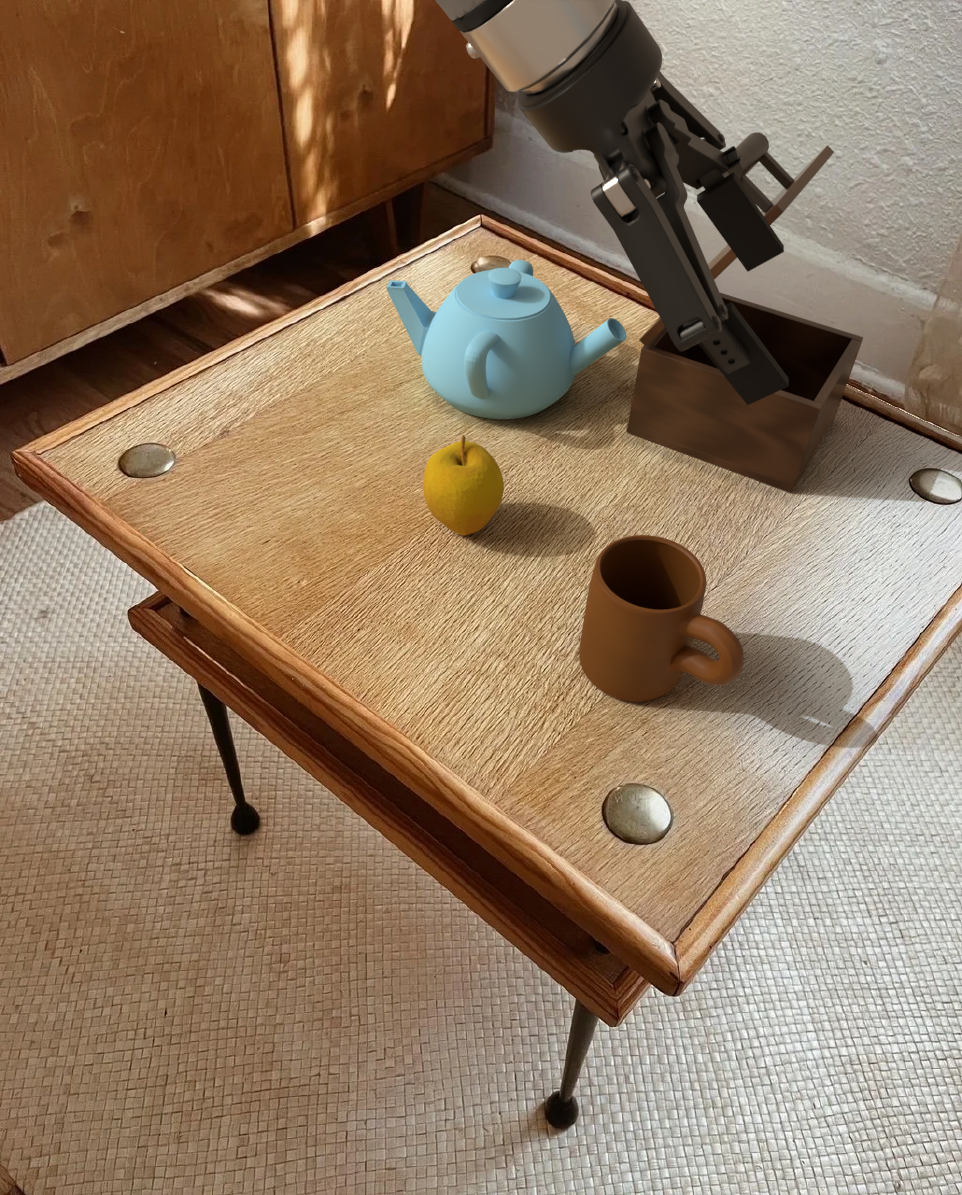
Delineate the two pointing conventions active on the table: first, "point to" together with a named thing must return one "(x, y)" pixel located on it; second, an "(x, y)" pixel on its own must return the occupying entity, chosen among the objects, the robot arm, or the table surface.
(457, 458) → the apple
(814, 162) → the lid
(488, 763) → the table surface
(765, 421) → the chest
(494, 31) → the robot arm
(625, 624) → the mug
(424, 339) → the teapot
